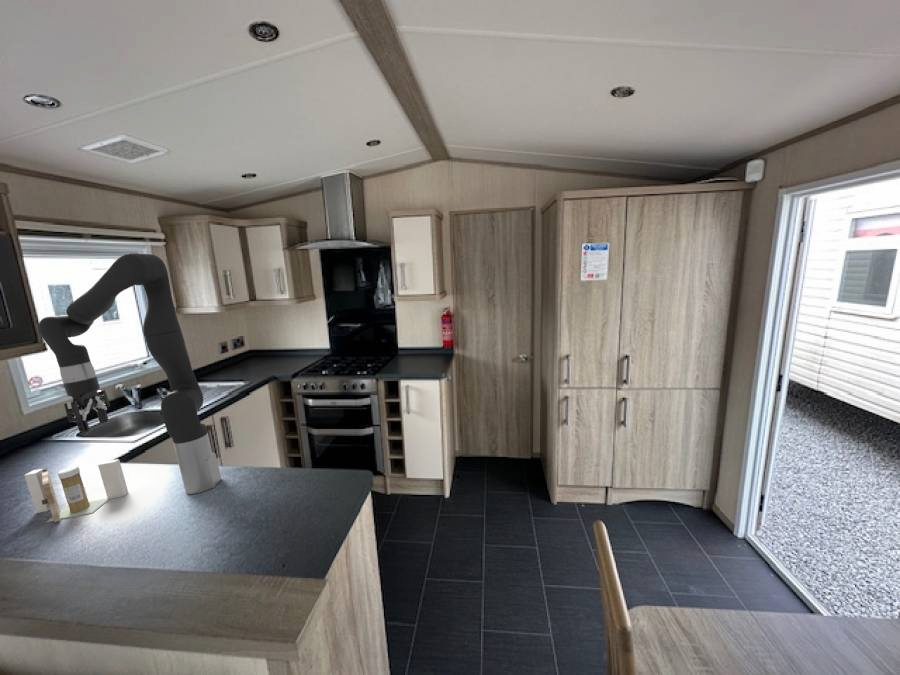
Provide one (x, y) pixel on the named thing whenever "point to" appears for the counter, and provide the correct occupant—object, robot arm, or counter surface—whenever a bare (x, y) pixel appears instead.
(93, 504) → the mat
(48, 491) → the door
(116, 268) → the robot arm
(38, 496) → the hinge post
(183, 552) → the counter surface
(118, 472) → the wall
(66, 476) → the sprinkles bottle
